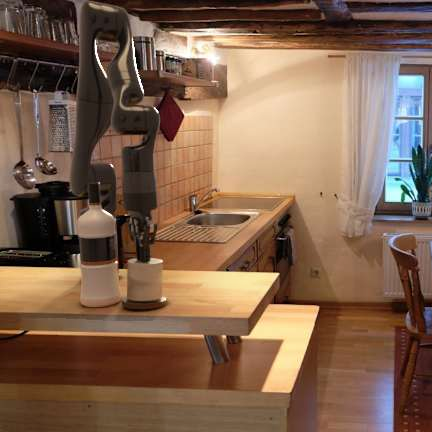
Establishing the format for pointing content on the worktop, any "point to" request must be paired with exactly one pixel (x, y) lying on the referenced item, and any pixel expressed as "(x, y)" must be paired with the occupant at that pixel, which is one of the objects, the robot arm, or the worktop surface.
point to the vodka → (98, 254)
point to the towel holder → (144, 284)
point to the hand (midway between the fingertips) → (143, 260)
